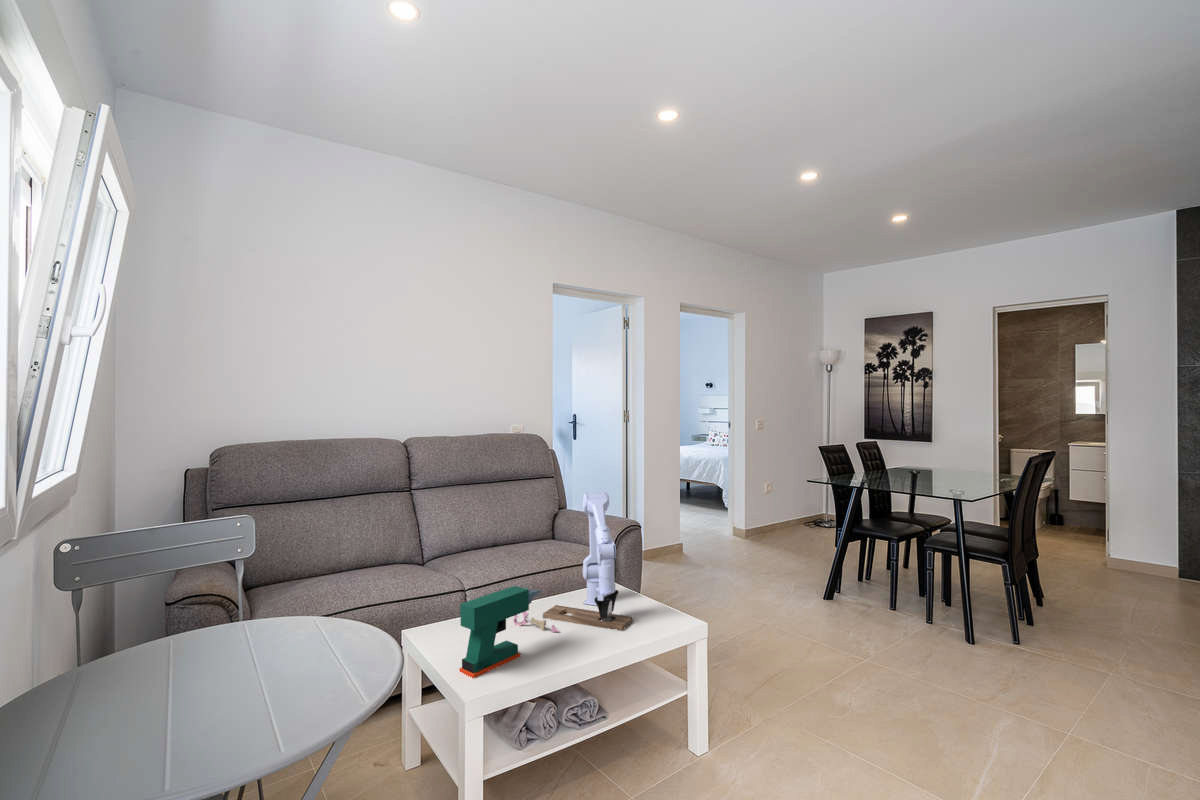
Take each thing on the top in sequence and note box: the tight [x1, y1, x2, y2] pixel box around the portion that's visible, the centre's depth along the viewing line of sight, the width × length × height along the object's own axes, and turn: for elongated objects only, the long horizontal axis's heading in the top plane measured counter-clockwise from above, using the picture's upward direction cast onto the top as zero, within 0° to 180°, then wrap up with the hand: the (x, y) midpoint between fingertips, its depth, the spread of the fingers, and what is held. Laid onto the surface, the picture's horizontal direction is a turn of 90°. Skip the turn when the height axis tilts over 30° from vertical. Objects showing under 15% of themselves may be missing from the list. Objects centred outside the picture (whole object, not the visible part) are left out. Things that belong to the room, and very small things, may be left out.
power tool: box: [459, 585, 543, 679], centre depth 180 cm, size 32×7×20 cm, turn 141°
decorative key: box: [512, 611, 560, 633], centre depth 202 cm, size 7×1×20 cm
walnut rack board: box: [542, 604, 634, 631], centre depth 210 cm, size 10×32×2 cm, turn 65°
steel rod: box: [602, 599, 613, 622], centre depth 207 cm, size 4×4×8 cm
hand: (607, 614), depth 207 cm, fingers open, 7 cm apart
